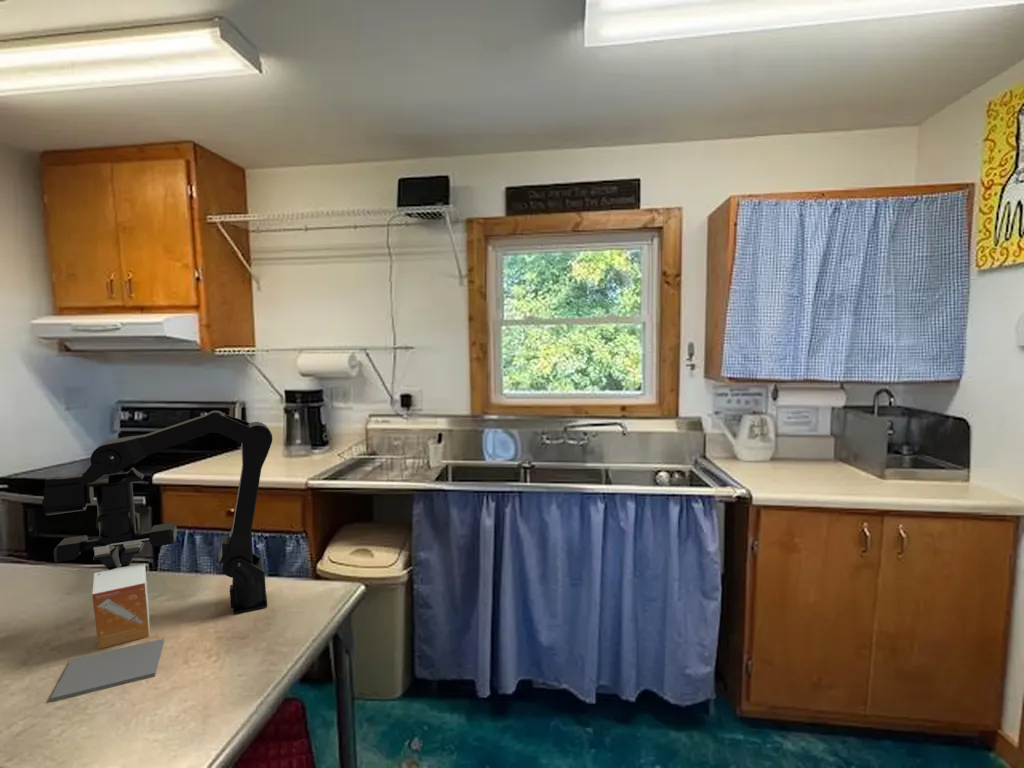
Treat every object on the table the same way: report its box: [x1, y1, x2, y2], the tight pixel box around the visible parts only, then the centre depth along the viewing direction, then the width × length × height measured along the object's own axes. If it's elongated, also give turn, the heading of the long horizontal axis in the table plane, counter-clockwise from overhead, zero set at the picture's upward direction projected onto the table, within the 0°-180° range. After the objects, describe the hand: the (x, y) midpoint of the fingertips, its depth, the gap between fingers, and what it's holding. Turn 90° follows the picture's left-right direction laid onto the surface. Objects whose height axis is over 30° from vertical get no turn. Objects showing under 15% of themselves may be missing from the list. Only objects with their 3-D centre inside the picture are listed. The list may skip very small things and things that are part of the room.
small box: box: [91, 562, 150, 650], centre depth 103 cm, size 8×6×13 cm
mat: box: [50, 638, 165, 703], centre depth 95 cm, size 14×12×1 cm
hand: (122, 583), depth 106 cm, fingers closed
